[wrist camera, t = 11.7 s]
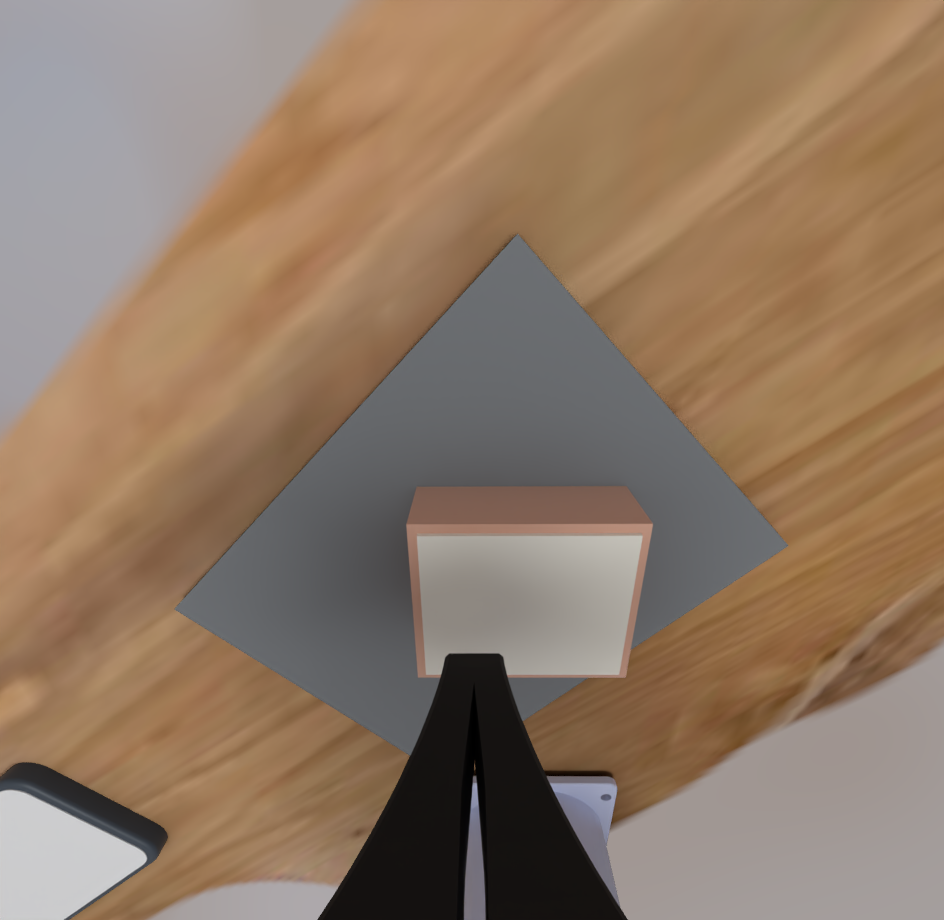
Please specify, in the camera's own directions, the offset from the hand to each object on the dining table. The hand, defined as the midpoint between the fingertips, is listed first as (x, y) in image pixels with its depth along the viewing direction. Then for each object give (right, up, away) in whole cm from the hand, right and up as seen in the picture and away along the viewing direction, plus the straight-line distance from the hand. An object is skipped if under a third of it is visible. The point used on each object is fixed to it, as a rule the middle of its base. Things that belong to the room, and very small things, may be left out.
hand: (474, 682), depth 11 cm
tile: (-2, +1, +4) cm, 5 cm away
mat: (0, +1, +6) cm, 6 cm away
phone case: (-25, -16, +14) cm, 33 cm away
